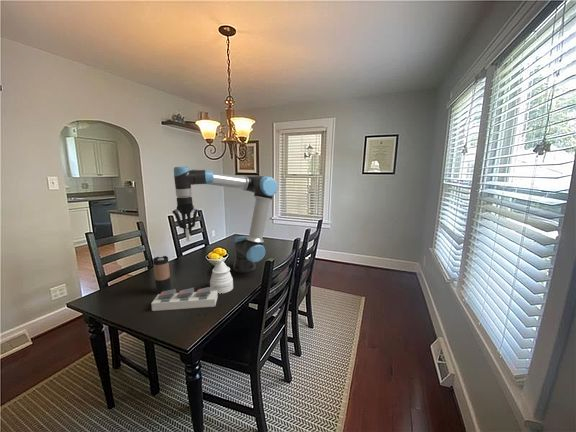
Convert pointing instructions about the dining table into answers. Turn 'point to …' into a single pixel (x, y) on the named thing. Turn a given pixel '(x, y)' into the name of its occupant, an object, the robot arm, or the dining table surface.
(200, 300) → the power strip
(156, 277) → the travel mug
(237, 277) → the dining table surface
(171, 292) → the rocker
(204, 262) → the dining table surface
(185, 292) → the rocker mid
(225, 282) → the honey pot
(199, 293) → the rocker
